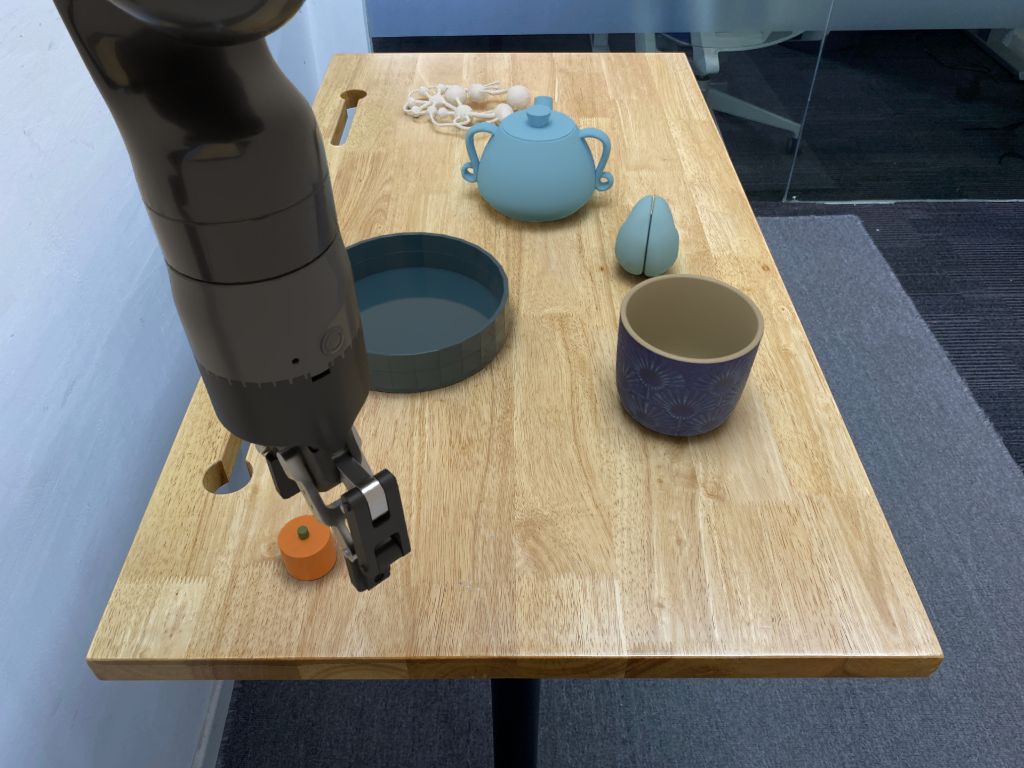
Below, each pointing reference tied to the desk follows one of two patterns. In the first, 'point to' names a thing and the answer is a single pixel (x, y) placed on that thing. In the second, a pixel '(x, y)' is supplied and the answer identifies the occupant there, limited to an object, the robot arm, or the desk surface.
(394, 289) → the bowl
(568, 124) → the blue sugar bowl
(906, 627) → the desk surface
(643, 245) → the toy flower bud
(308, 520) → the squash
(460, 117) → the tangled rod sculpture
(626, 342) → the planter
